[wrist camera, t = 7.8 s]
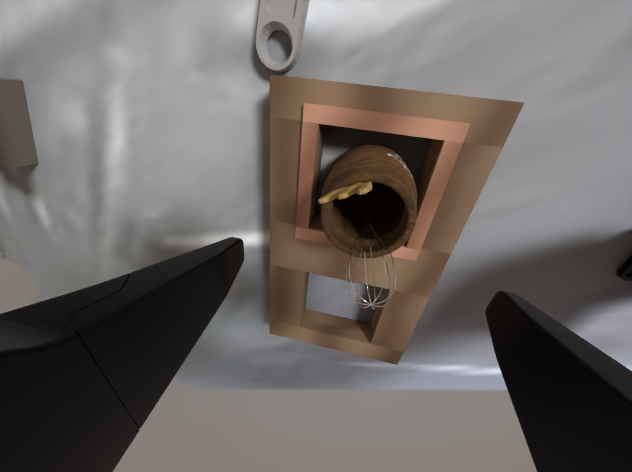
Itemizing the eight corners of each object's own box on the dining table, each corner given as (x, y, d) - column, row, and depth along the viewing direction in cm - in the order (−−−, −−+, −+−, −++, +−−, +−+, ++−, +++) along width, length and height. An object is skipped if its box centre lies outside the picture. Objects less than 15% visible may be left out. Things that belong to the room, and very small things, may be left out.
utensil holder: (341, 222, 21) (312, 341, 10) (320, 150, 18) (254, 214, 8) (412, 208, 19) (462, 336, 9) (401, 125, 16) (453, 168, 6)
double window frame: (501, 102, 14) (527, 102, 12) (395, 343, 27) (397, 367, 24) (283, 77, 16) (268, 74, 14) (277, 315, 28) (268, 335, 26)
